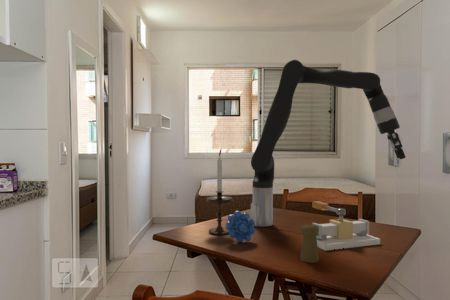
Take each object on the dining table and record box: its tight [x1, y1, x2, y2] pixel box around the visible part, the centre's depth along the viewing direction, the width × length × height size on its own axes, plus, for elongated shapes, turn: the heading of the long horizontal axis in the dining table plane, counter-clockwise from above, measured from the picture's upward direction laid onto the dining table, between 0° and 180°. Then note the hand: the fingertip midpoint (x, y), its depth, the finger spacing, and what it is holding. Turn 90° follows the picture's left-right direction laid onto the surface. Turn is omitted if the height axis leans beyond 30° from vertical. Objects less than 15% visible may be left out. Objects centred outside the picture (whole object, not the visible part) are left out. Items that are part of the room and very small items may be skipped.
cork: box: [299, 224, 320, 263], centre depth 112 cm, size 6×6×11 cm
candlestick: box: [206, 149, 233, 236], centre depth 145 cm, size 11×11×35 cm
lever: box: [311, 200, 347, 216], centre depth 139 cm, size 3×19×2 cm, turn 19°
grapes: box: [225, 210, 256, 243], centre depth 130 cm, size 12×7×12 cm, turn 104°
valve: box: [311, 215, 381, 252], centre depth 132 cm, size 24×14×10 cm, turn 109°
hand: (401, 158), depth 139 cm, fingers open, 8 cm apart
